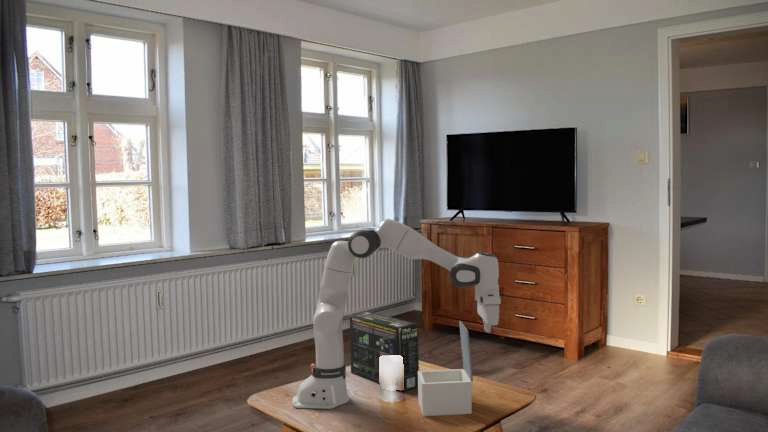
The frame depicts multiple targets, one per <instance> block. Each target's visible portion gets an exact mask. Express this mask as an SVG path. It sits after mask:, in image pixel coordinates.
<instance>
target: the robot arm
mask: <svg viewBox="0 0 768 432" xmlns="http://www.w3.org/2000/svg"><path fill="white" fill-rule="evenodd" d="M329 248H330V249H329V251H328V254H327V256H326V260H325V264H324V268H323V273H322V278H321V283H320V287H319V288H320V289H319V293H318V300H317V303H316V305H317V306H316V309H315V311H314V315H313V317H312V323H313V337H314V345H315V363H311V364H310V373H311V374H310V376H308V377H307V378H305V379H304V380H303V381H302V382H301V383H300V385H299V386H298V390H297V393H296V394H295V395H294V396H293V397H292V400H291V401H292V402H291V404H292V406H293V407H294V408H296V409H322V410H323V409H324V410H325V409H326V410H331V409H335V408H336V407H338V406H341V405H344V404H346V403H348V402H349V401H350V399H351V398H350V395H349V393H348V389H347V384H346V383H347V381H346V377H347V368H346V363H345V350H344V349H345V348H344V347H345V346H344V335H343V318H344V312H345V308H346V304H347V298H348V294H349V291H350V285H351V280H352V276H353V270H354V265H355V263H356V260H357V258H358V259H366V258H369V257H371V256H374V255H375V254H376V253H378V251H380V249H381V248H385V249H386V248H387V249H389V250H391V251H393V252H395V253H396V254H398V255H400V256H402V257H404V258H407V259H410V260H427V261H431V262H433V263H434V264H436V265H438V266H441V267H442V268H443V269H446V270H448V271H449V277H450V278H449V279H450V280H451V282H452V283H453V285H455V286H456V287H459V288H467V287H473V286H474V295H475V297H474V298H475V299H474V300H475V301H477V307H476V310H477V315H478V316H480V318H482V321H483V327H484V328H483V329H484V332H486V333H491V332H492V331H491V327H492V326H498V324H499V319H500V305H501V302H502V301H501V296H500V286H499V281H498V280H499V277H500V273H499V271H500V269H499V267H500V266H499V260H498V258H497V256H496V255H495V254H494V253H490V252H487V251H486V252H485V251H478V252H477V253H475V254H474V255H472V256H470V257H468V256H459V255H456V254H454V253H451V252H450V251H448V250H446V249H444V248H443V247H440V246H438V245H436V244H435V243H434V242H432V241H430V239H428V238H427V237H425V236H424V235H423V234H421V233H419V231H417V230H415V229H413V228H412V227H410V226H408V225H407V224H404V223H402V222H400V221H396V220H394V219H390V218H385V219H383V220H382V221H381V222H379V224H378V225H377V227H376V228H370V227H365V228H360V229H358V230H356V231H354V232H353V233H352V234H351V235H350V236H349V238H348V241H347V240H336V241H334V242H332V244H331V246H330V247H329Z"/></svg>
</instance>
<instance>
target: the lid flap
mask: <svg viewBox="0 0 768 432" xmlns="http://www.w3.org/2000/svg"><path fill="white" fill-rule="evenodd" d="M458 324H459V334H460V346H461V355H462V356H461V357H462V367H463V368H462V369H464V371H465V372H466V374H467V376H468V377H469V379H470V381H471V383H473V382H474V380H473V377H474V376H480V375H489V374H491V373H492V372H491V369H490V368H489V367H485V368H478V369H472V368H473V366H472V358H471V357H472V356H471V343H470V336H469V335H470V334H469V330H468V329H467V328H466V326H465V325H464V323H463V322H462V321H461V320H459V321H458Z"/></svg>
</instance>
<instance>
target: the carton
mask: <svg viewBox="0 0 768 432" xmlns="http://www.w3.org/2000/svg"><path fill="white" fill-rule="evenodd" d="M417 390H418V391H417V393H418V394H417V395H418V397H417V400H418V401H417V402H418V404H419V408H420V411H421V413H422V417H432V416H433V417H434V416H436V417H437V416H456V415H469V414H470V415H471V414H473V413H472V407H473V405H472V382H471V381H470V379H469V377H468V375H467V374H466V372H465V370H464V368H456V369H454V368H453V369H433V370H432V369H431V370H419V371H418V386H417Z"/></svg>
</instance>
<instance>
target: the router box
mask: <svg viewBox="0 0 768 432" xmlns="http://www.w3.org/2000/svg"><path fill="white" fill-rule="evenodd" d="M348 318H349V334H350V337H349V338H350V341H349V342H350V343H349V344H350V373H351V374H353V375H356V376H359V377H361V378H364V379H367V380H369V381H372V382H375V383H377V384H379V357H380V356H382V355H401V356H402V357H403V364H404V389H405V391H407V390H411V389H414V388H416V387H418V371H420V365H419V361H420V354H419V351H420V350H419V348H420V347H419V345H420V344H419V331H418V329H419V326H418V323H416V322H412V321H408V320H404V319H399V318H397V317H396V318H395V317H391V316H388V315H383V314H379V313H376V312H372V311H363V312H362V311H361V312H357V313H352V314H349V315H348Z"/></svg>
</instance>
